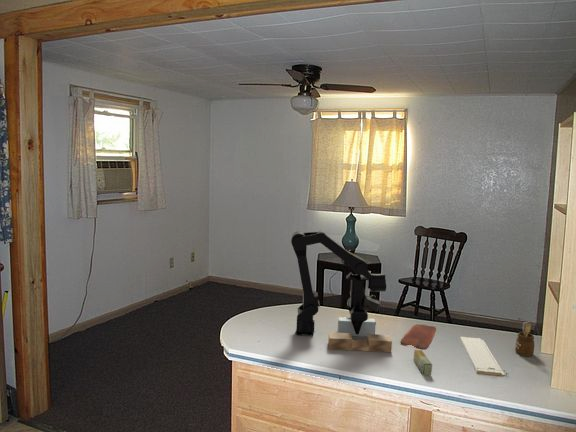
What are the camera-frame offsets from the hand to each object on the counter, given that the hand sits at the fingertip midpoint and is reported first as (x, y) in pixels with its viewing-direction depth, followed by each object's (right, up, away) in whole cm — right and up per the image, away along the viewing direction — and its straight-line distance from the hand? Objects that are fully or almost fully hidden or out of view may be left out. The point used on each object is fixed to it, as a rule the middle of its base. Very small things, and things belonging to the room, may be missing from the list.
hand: (356, 329), depth 182 cm
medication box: (+18, -6, -28) cm, 33 cm away
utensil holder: (+58, -5, -14) cm, 60 cm away
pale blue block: (0, -2, 0) cm, 2 cm away
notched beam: (-1, -3, -13) cm, 13 cm away
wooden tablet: (+25, -3, +1) cm, 25 cm away
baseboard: (+42, -6, -17) cm, 46 cm away
